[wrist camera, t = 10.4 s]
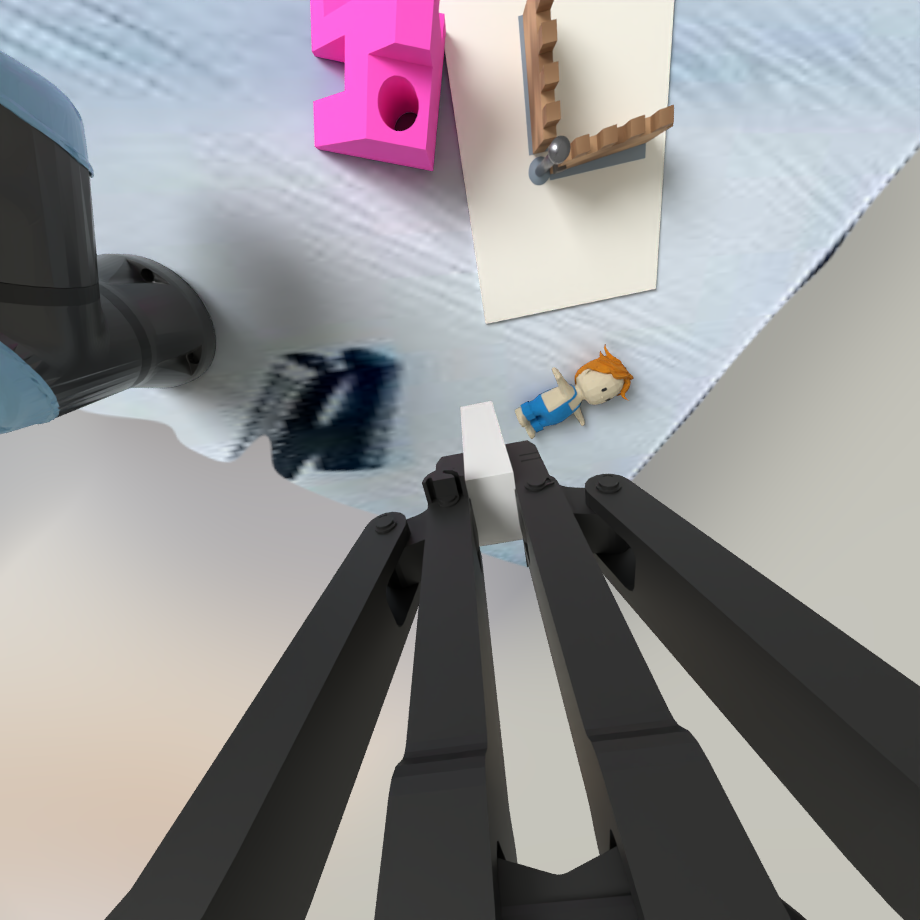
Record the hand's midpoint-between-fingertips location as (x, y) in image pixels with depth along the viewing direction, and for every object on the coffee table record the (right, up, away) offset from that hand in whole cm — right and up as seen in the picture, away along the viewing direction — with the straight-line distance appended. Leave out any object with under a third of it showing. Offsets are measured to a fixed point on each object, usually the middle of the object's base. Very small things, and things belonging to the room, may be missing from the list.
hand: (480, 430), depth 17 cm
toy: (+14, +8, +33) cm, 37 cm away
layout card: (+10, +30, +21) cm, 38 cm away
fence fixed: (+6, +35, +18) cm, 40 cm away
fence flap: (+13, +31, +20) cm, 39 cm away
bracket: (-9, +34, +18) cm, 40 cm away
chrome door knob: (+7, +29, +21) cm, 37 cm away
